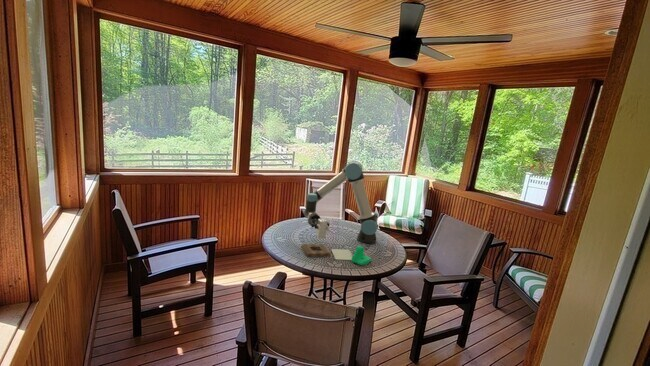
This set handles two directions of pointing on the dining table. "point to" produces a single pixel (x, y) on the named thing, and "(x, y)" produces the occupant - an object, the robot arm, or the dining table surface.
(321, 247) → the walnut socket
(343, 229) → the dining table surface
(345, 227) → the dining table surface
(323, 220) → the aluminium post
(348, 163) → the robot arm
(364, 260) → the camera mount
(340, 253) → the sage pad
